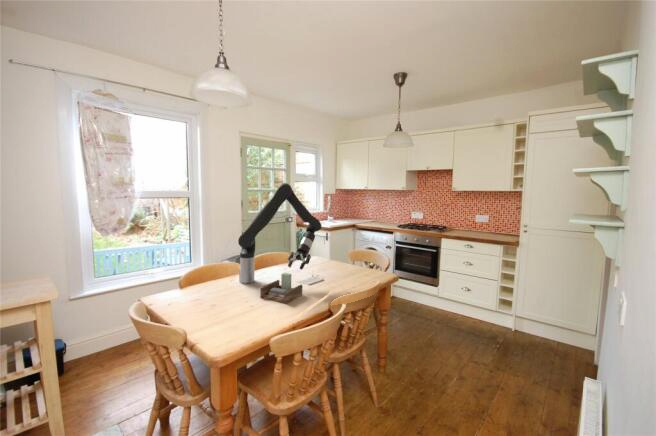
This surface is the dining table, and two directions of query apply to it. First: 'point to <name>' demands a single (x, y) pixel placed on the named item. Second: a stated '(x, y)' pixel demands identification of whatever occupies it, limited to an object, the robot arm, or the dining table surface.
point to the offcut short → (278, 291)
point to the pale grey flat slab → (310, 280)
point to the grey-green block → (286, 281)
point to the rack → (288, 295)
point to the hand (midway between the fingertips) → (294, 267)
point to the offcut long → (276, 295)
